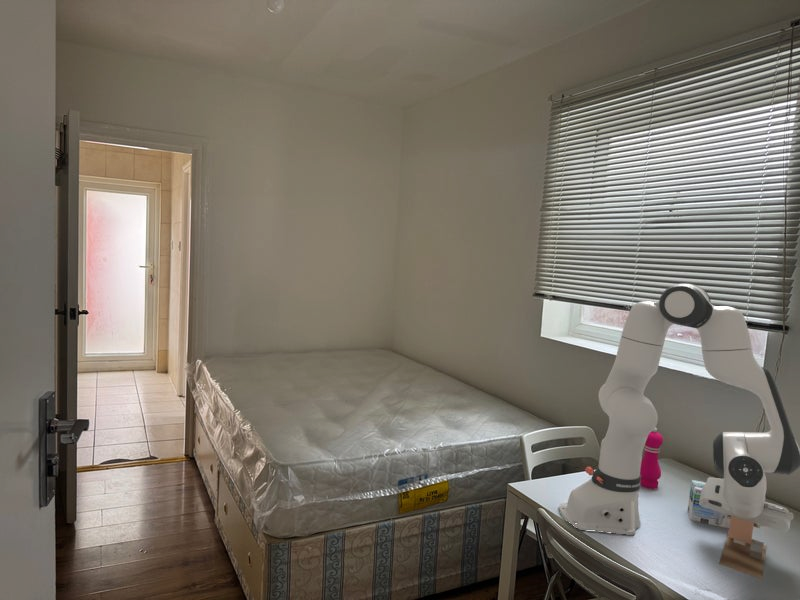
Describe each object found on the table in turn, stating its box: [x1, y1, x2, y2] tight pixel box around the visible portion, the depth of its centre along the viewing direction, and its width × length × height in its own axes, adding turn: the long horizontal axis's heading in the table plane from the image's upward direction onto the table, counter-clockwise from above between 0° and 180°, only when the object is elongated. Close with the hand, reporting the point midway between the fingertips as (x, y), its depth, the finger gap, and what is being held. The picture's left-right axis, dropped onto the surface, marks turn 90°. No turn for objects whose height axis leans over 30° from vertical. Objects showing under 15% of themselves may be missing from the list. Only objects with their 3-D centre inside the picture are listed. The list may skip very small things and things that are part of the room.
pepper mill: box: [640, 427, 664, 490], centre depth 179 cm, size 7×7×20 cm
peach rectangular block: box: [727, 516, 755, 544], centre depth 144 cm, size 5×5×8 cm
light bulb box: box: [687, 479, 730, 529], centre depth 156 cm, size 11×7×11 cm, turn 70°
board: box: [718, 534, 768, 580], centre depth 139 cm, size 19×9×4 cm, turn 143°
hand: (742, 520), depth 145 cm, fingers closed on peach rectangular block, 5 cm apart
